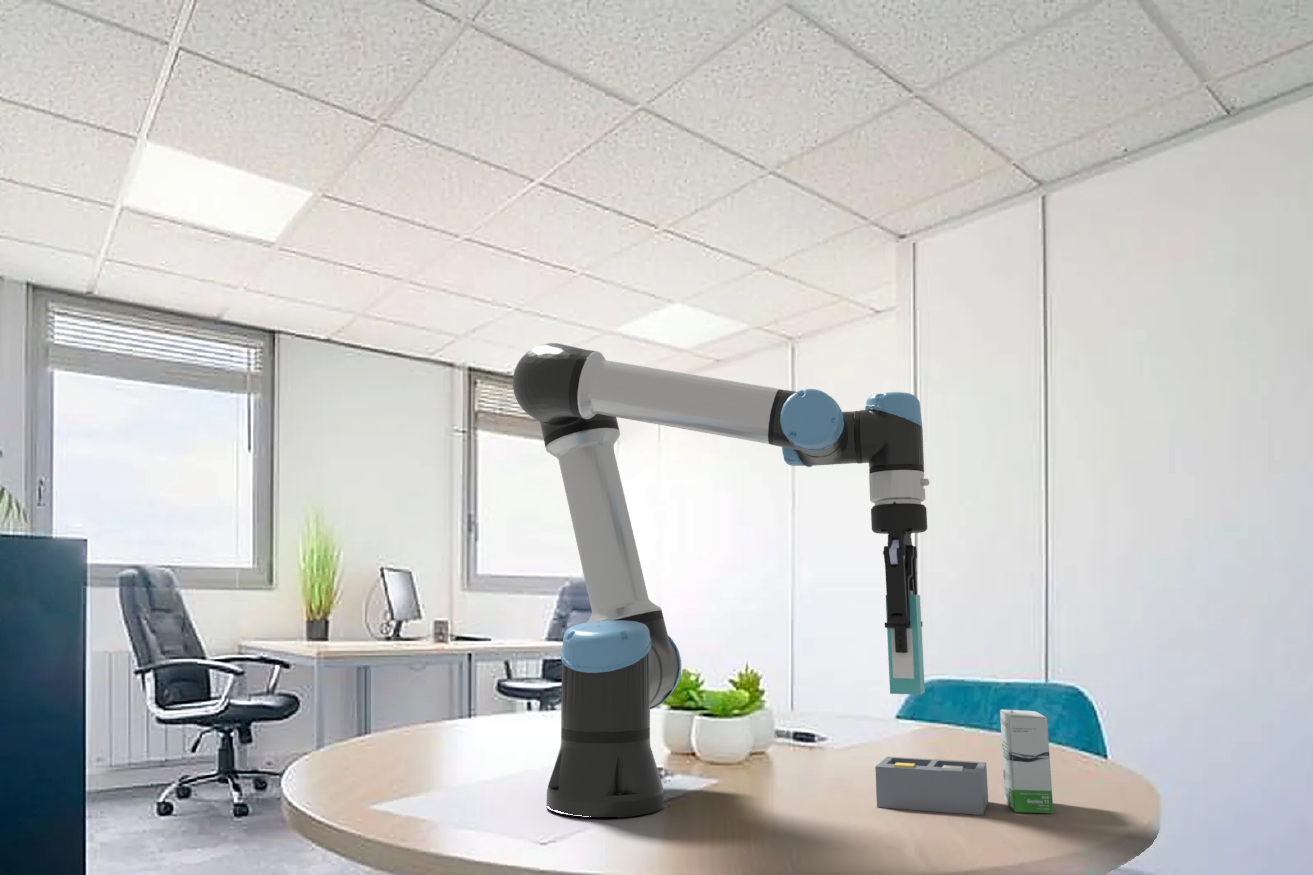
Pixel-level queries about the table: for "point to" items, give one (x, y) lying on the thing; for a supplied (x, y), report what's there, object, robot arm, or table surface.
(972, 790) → the socket block
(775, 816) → the table surface
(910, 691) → the plug
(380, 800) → the table surface
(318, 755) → the table surface
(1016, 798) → the ink box
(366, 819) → the table surface
